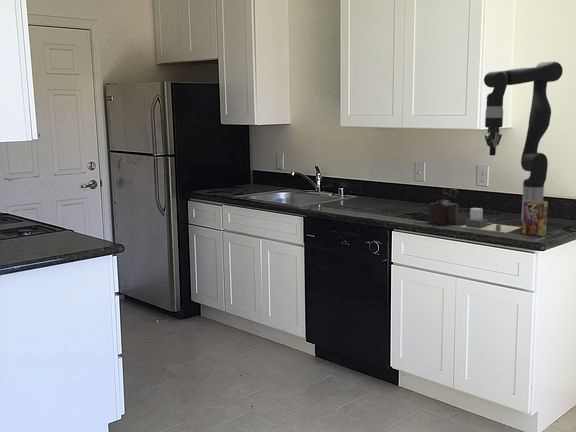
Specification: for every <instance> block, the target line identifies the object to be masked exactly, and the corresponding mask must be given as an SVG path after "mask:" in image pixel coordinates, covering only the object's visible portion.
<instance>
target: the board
mask: <svg viewBox="0 0 576 432" xmlns="http://www.w3.org/2000/svg"><path fill="white" fill-rule="evenodd" d="M460 228H469V229H474V230H475V229H476V230H481V231H482V230H483V231H491V232H497V233H498V232H499V233H505V234H506V233H507V234H508V233H509V232H513V231H515V230H519V229H521V228H522V229H523V226H514V225H505V224H498V223H493V222H489V221H488V219H485V218H482V220H481V221H475V220H470V218H468V219H465V224H464V225H461V226H460Z"/></svg>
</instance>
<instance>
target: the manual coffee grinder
mask: <svg viewBox="0 0 576 432" xmlns="http://www.w3.org/2000/svg"><path fill="white" fill-rule="evenodd" d="M446 190H447V189H446V188H443V189H442V199H439V200H437V201H436V202H430V203H428V219H427V223H428V224H433V225H440V226H449V225H456V224H458V223H459V206H460V205H459V203H454V202H453V203H452V202H451V201H450V200H448V199H446V196H448V197H449V198H451V199H456V195H457V194H458V193H459V191H458V189H457V188H456V187H451V188H450V189H449V193H447V191H446Z"/></svg>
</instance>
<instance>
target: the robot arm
mask: <svg viewBox="0 0 576 432" xmlns="http://www.w3.org/2000/svg"><path fill="white" fill-rule="evenodd" d="M563 71H564V69H563V66H562V64H560V62H558V61H542V62H541V61H540V62H539V63H537V65H535V66H534V67H519V68H510V69H506V70H495V71H494V70H493V71H489V72H486V74H485V75H484V78H483V83H484V85H485V86H486V87H488V88H492V92H490V93H488V94H487V95H486V107H485V118H484V123H485V124H484V126H485V128H487V133H486V134H485V135H484V139H485V143H486V146H487V147H489V156H491V157H492V156H496V152H497V147H498V146H499V144H500V142H501V139H502V136H503V134H502V133H500V128H503V123H504V96H505V92H506V89H507V86H514V85H519V84H521V85H522V84H526V83H531V82H533V86H532V87H533V88H532V98H531V106H530V107H531V108H530V112H529V118H528V124H527V125H528V126H527V131H526V137H525V143H524V146H523V150H522V153H521V158H520V165H521V168H522V170H523V171H525V172H528V173H529V177H528V178H526V179H524V180H523V182H522V199H521V200H522V201H521V205H522V206H521V219H520V220H521V222H522V223H523V211H524V201H525V200H536V201H544V195H545V194H544V193H545V192H544V191H545V190H544V188H545V187H544V186H545V183H546V181H547V174H548V164H549V163H548V157H547V156H546V154H545V153H543V152H538V148H539V144H540V141H541V139H542V137H544V135H545V133H546V132H547V131H548V129H549V126H550V123H551V118H552V117H551V116H552V108H551V107H552V106H551V104H550V102H549V99H548V97H547V86H548V83H552V82H557V81H558V80H560V78H561V77H562V75H563Z"/></svg>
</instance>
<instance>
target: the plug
mask: <svg viewBox="0 0 576 432" xmlns="http://www.w3.org/2000/svg"><path fill="white" fill-rule="evenodd" d="M483 213H484V209H483V208H481V207H480V208H479V207H471V208H469V217H470V218H469V219H470V220H475V221H481V220H482V219H484V218H483V216H484V215H483Z"/></svg>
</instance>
